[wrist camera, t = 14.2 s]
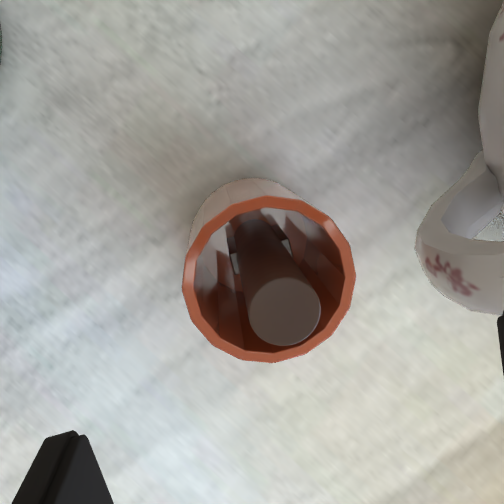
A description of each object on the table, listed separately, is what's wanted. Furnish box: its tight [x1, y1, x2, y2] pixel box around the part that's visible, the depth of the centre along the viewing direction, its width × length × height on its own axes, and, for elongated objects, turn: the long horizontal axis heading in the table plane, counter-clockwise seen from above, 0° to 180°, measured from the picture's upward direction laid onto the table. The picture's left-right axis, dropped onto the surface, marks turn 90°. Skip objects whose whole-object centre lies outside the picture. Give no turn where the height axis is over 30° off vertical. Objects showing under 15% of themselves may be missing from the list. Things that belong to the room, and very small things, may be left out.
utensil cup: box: [182, 178, 356, 363], centre depth 25 cm, size 7×7×9 cm
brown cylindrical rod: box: [227, 219, 321, 346], centre depth 23 cm, size 3×3×12 cm
